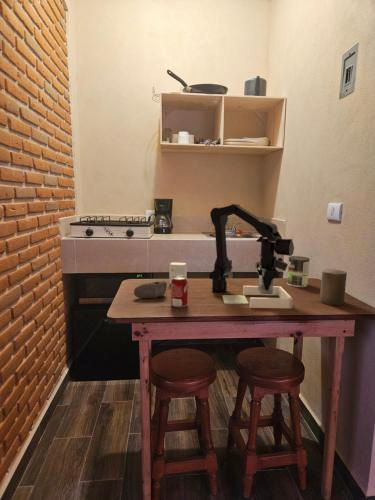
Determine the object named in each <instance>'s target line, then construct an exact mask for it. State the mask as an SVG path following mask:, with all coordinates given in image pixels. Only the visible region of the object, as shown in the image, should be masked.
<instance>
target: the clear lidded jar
mask: <svg viewBox="0 0 375 500" xmlns="http://www.w3.org/2000/svg"><path fill="white" fill-rule="evenodd" d="M310 260H311V258H309V257H307V256H306V257H305V256H299V255H292V256H288V263H287V264H288V266H287V278H286V284H287V285H288V286H291V287H294V288H295V287H296V288H306V287H308V283H309V282H308V281H309V270H310Z"/></svg>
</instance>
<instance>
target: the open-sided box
mask: <svg viewBox="0 0 375 500" xmlns="http://www.w3.org/2000/svg"><path fill="white" fill-rule="evenodd" d="M258 288H259V285H243V287H242V296H251V297H249V308H251V309H293V306H294V299H293V297H292V296H291V295H290V294H289V293H288V292H287V291H286V290H285V289H284V288H283V287H282V286H280V285H277V286H275V285H273V294H261V293H260V292H259V291H258ZM252 296H253V297H252ZM254 296H277V297H254Z"/></svg>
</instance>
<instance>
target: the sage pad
mask: <svg viewBox="0 0 375 500" xmlns="http://www.w3.org/2000/svg"><path fill="white" fill-rule="evenodd" d="M222 300H223V303H224V305H249V300H248V299H247V297H246V295H239V294H238V295H236V294H234V295H229V294H228V295H227V294H226V295H225V294H224V295H223V294H222Z"/></svg>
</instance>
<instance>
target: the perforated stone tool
mask: <svg viewBox="0 0 375 500" xmlns="http://www.w3.org/2000/svg"><path fill="white" fill-rule="evenodd" d="M167 284H168V283H167V282H166V281H151V282H146V283H144V284H140V285H138V286H136V287H135V288H134V290H133V295H134V296H135V297H136V298H139V299H156V298H158V297H160V298H162V297H164V296H165V294H166V292H167V287H168V286H167Z"/></svg>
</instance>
